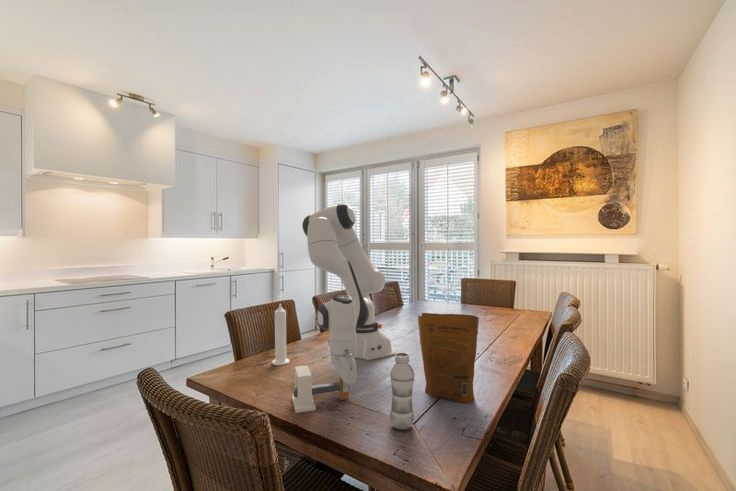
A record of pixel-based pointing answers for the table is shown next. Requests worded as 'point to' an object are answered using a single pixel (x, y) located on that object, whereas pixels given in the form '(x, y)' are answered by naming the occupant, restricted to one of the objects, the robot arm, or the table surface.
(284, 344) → the candle
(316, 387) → the wooden mallet
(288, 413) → the table surface
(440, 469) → the table surface
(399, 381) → the plastic bottle
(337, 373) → the robot arm
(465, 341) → the pancake mix bag
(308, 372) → the block
